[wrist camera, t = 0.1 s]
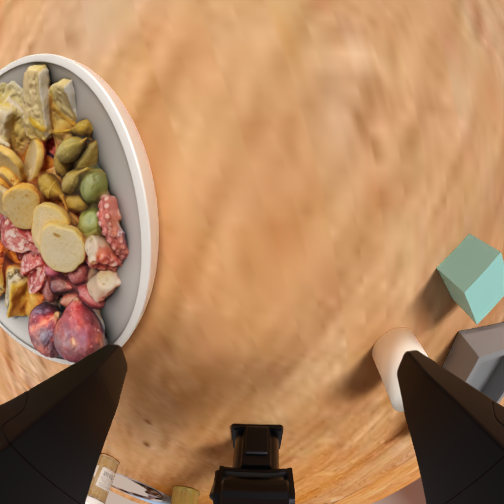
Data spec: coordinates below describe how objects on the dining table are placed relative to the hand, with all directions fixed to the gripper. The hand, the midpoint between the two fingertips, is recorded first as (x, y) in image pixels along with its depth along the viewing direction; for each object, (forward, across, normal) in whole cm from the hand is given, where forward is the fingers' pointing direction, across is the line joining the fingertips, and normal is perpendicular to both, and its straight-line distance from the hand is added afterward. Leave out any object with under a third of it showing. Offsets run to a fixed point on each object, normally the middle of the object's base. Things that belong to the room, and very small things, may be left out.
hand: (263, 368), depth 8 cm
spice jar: (+15, +30, +48) cm, 59 cm away
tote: (+15, -30, +20) cm, 39 cm away
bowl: (+15, +22, -2) cm, 27 cm away
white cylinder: (+15, -14, +12) cm, 24 cm away
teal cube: (+15, -20, +3) cm, 25 cm away
